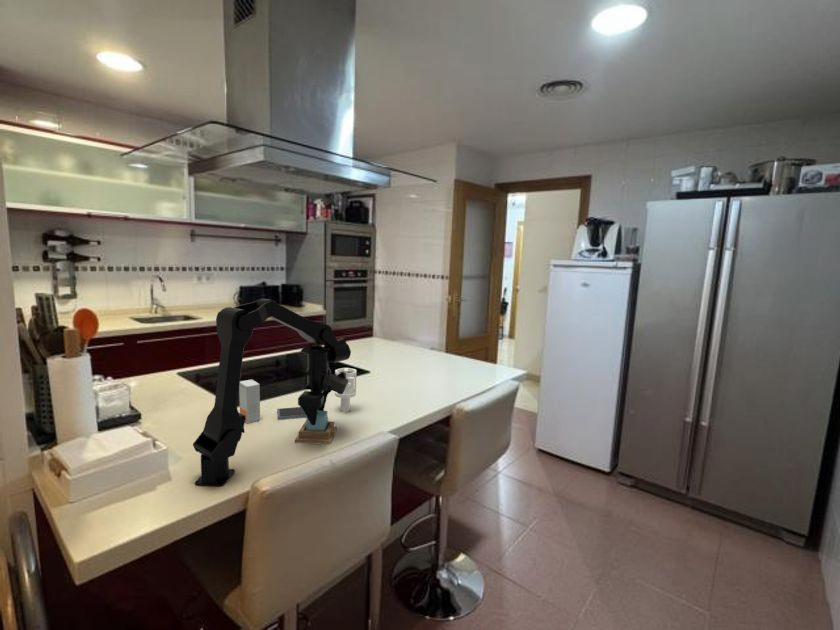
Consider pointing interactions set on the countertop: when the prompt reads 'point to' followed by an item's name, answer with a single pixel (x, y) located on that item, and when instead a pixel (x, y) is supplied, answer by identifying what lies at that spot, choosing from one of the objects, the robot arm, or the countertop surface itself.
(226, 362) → the robot arm
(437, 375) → the countertop surface
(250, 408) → the skincare box
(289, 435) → the countertop surface
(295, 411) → the phone
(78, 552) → the countertop surface
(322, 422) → the blue drawer box
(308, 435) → the dock
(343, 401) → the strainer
